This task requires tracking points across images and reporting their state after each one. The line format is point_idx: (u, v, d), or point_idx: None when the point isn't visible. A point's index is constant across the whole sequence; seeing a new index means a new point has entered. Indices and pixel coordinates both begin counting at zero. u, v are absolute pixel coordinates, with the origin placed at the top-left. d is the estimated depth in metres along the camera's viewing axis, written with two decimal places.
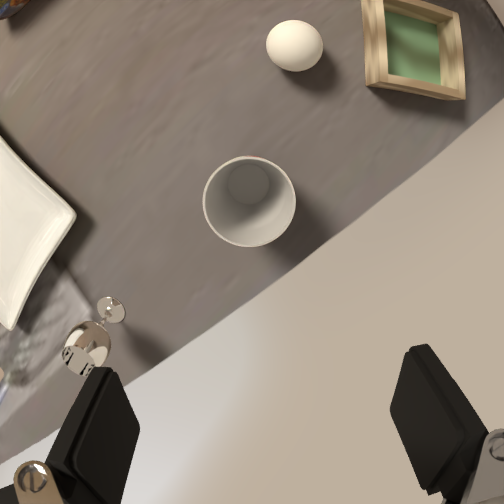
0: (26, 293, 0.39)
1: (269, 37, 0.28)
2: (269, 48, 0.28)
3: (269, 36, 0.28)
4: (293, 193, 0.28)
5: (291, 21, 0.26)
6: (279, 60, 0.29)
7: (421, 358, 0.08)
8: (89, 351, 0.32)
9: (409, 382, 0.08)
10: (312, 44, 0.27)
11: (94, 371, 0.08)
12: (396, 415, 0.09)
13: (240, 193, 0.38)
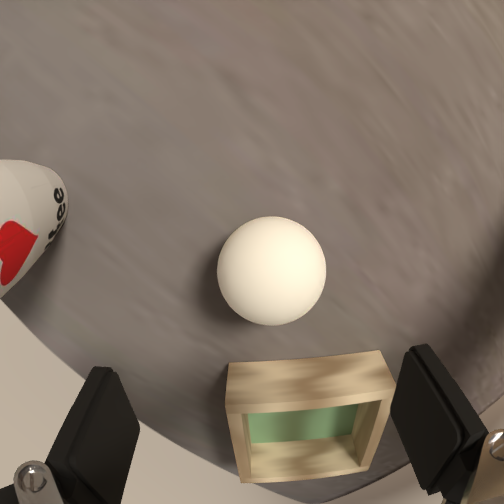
0: None
1: (281, 228, 0.16)
2: (255, 228, 0.16)
3: (283, 228, 0.16)
4: None
5: (319, 273, 0.16)
6: (229, 250, 0.16)
7: (421, 358, 0.08)
8: None
9: (409, 382, 0.08)
10: (266, 318, 0.16)
11: (94, 371, 0.08)
12: (396, 415, 0.09)
13: None
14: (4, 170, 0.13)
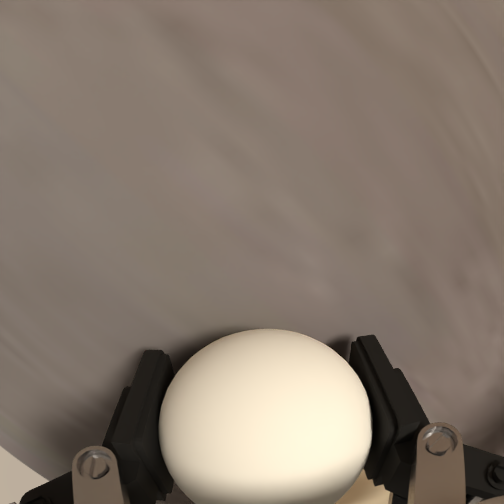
0: None
1: (289, 390, 0.06)
2: (228, 386, 0.06)
3: (296, 387, 0.06)
4: None
5: (364, 456, 0.06)
6: (172, 423, 0.07)
7: (365, 348, 0.09)
8: None
9: (355, 371, 0.09)
10: None
11: (147, 354, 0.09)
12: None
13: None
14: None
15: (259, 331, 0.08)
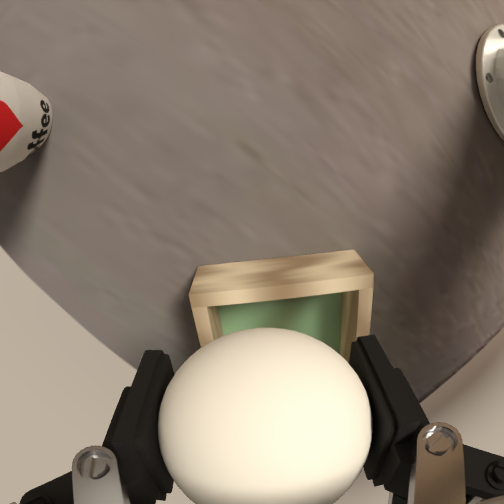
0: None
1: (289, 389, 0.06)
2: (227, 385, 0.06)
3: (295, 386, 0.06)
4: None
5: (364, 456, 0.06)
6: (172, 423, 0.06)
7: (365, 348, 0.09)
8: None
9: (355, 371, 0.09)
10: None
11: (147, 354, 0.09)
12: None
13: None
14: (2, 73, 0.13)
15: (259, 330, 0.08)
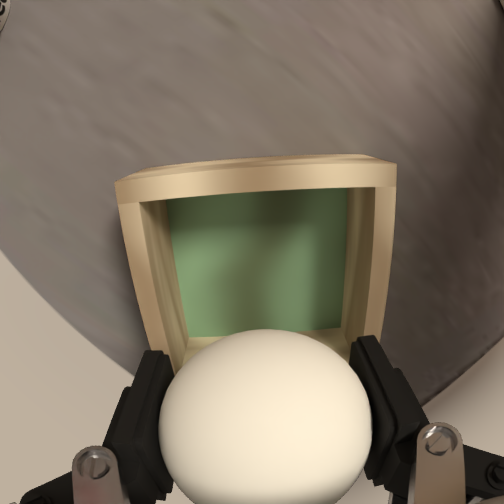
0: None
1: (289, 390, 0.06)
2: (228, 387, 0.06)
3: (295, 387, 0.06)
4: None
5: (364, 457, 0.06)
6: (172, 424, 0.07)
7: (365, 348, 0.09)
8: None
9: (355, 371, 0.09)
10: None
11: (147, 354, 0.09)
12: None
13: None
14: None
15: (259, 331, 0.08)
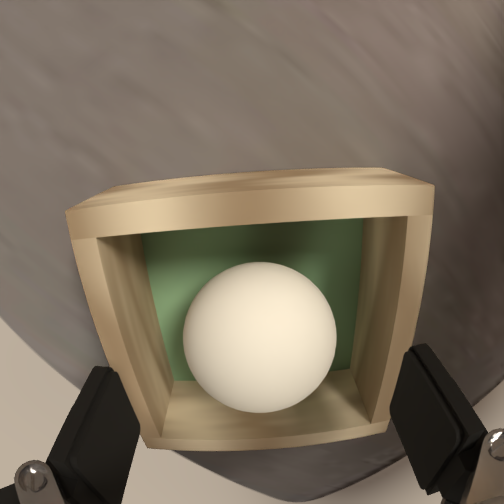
0: None
1: (273, 288, 0.11)
2: (234, 287, 0.11)
3: (277, 287, 0.11)
4: None
5: (329, 348, 0.11)
6: (196, 318, 0.11)
7: (420, 358, 0.08)
8: None
9: (408, 382, 0.08)
10: (252, 411, 0.11)
11: (95, 371, 0.08)
12: (395, 415, 0.09)
13: None
14: None
15: (254, 262, 0.13)
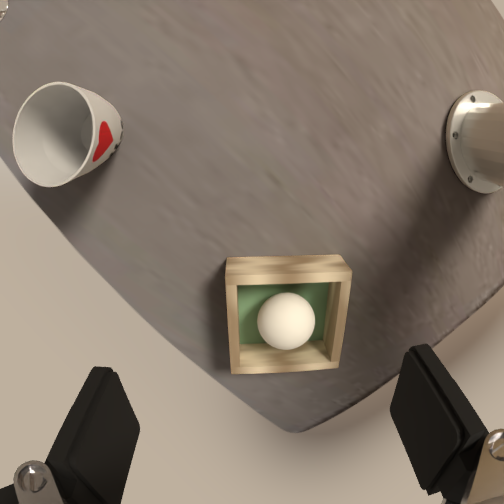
0: None
1: (293, 303, 0.31)
2: (280, 302, 0.31)
3: (295, 303, 0.31)
4: (62, 182, 0.21)
5: (311, 325, 0.31)
6: (266, 312, 0.32)
7: (421, 358, 0.08)
8: None
9: (409, 382, 0.08)
10: (284, 347, 0.31)
11: (94, 371, 0.08)
12: (396, 415, 0.09)
13: (91, 123, 0.28)
14: (98, 95, 0.22)
15: None
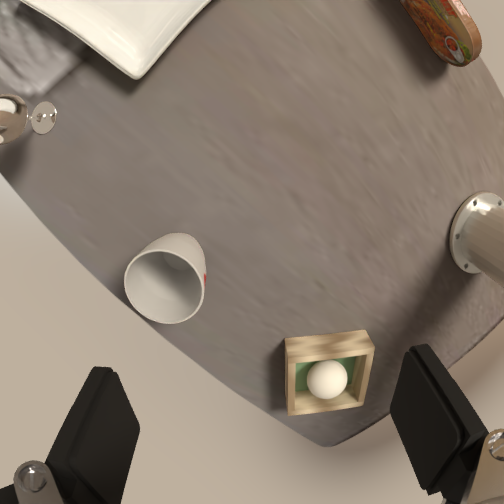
0: (53, 17, 0.25)
1: (333, 370, 0.42)
2: (324, 370, 0.42)
3: (334, 369, 0.42)
4: (177, 321, 0.32)
5: (345, 383, 0.42)
6: (314, 377, 0.42)
7: (421, 358, 0.08)
8: None
9: (409, 382, 0.08)
10: (326, 398, 0.42)
11: (94, 371, 0.08)
12: (395, 415, 0.09)
13: None
14: (190, 246, 0.33)
15: (327, 360, 0.44)
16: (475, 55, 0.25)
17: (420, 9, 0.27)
